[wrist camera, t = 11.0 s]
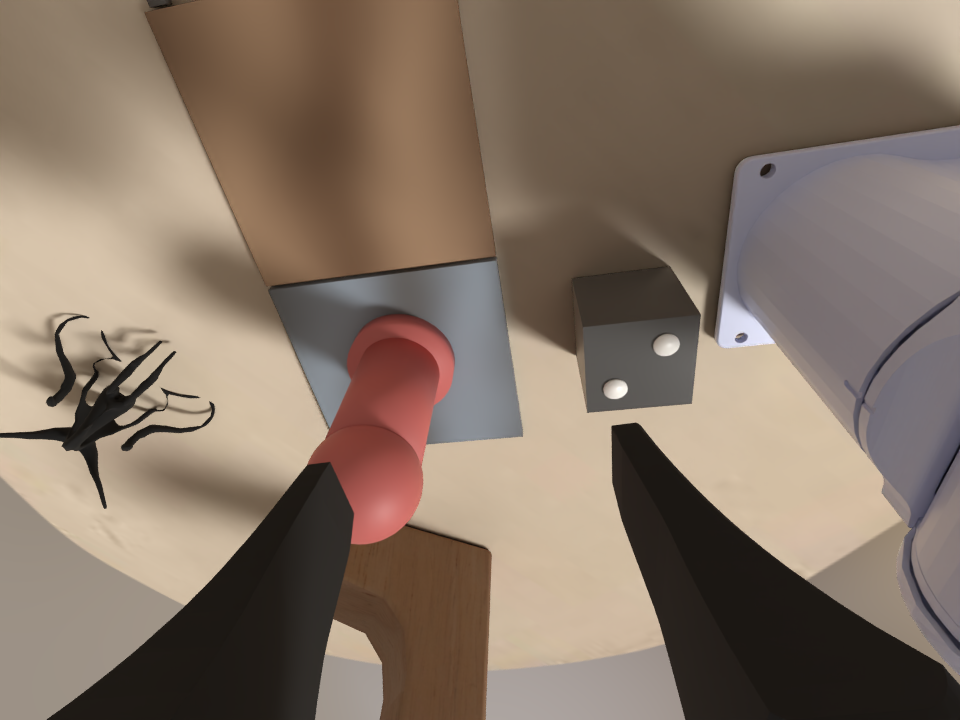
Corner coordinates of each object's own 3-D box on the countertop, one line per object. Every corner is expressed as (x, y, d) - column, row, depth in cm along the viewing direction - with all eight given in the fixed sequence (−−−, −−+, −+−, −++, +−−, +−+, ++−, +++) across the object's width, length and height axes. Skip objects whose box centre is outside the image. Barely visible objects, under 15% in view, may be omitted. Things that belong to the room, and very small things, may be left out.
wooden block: (342, 549, 33) (203, 987, 18) (359, 509, 30) (213, 978, 15) (468, 583, 34) (436, 1013, 19) (494, 549, 32) (478, 1009, 17)
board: (344, -744, 9) (338, -771, 9) (522, 431, 26) (522, 436, 25) (-98, -557, 11) (-118, -575, 10) (341, 446, 27) (339, 451, 27)
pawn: (443, 308, 21) (404, 473, 14) (463, 394, 24) (439, 573, 16) (339, 320, 22) (244, 484, 14) (369, 402, 25) (303, 579, 17)
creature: (108, 276, 23) (17, 381, 25) (29, 317, 19) (-78, 443, 20) (249, 380, 26) (158, 466, 28) (211, 438, 22) (106, 538, 23)
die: (670, 266, 20) (701, 315, 17) (665, 347, 22) (692, 404, 19) (571, 278, 21) (583, 328, 17) (576, 356, 23) (587, 413, 20)
